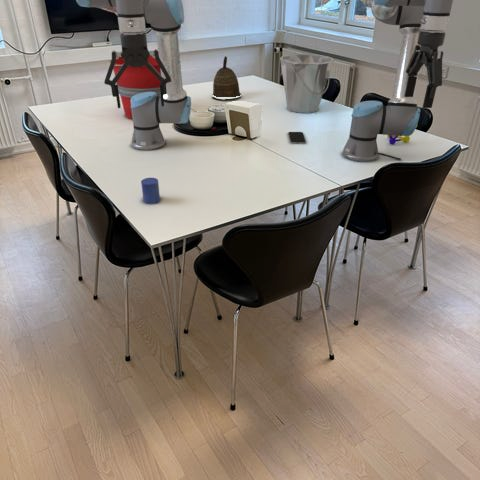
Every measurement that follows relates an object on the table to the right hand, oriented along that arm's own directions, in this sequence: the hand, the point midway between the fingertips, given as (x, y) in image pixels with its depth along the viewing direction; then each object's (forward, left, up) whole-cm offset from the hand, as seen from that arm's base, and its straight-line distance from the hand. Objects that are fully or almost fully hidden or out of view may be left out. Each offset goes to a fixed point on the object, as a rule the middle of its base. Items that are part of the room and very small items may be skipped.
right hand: (417, 102), depth 145 cm
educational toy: (-22, -54, -34) cm, 67 cm away
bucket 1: (+99, -113, -34) cm, 154 cm away
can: (+90, -4, -34) cm, 96 cm away
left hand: (+90, -4, 0) cm, 90 cm away
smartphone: (+24, -65, -34) cm, 77 cm away
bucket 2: (+9, -116, -34) cm, 121 cm away
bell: (+52, -146, -34) cm, 158 cm away
